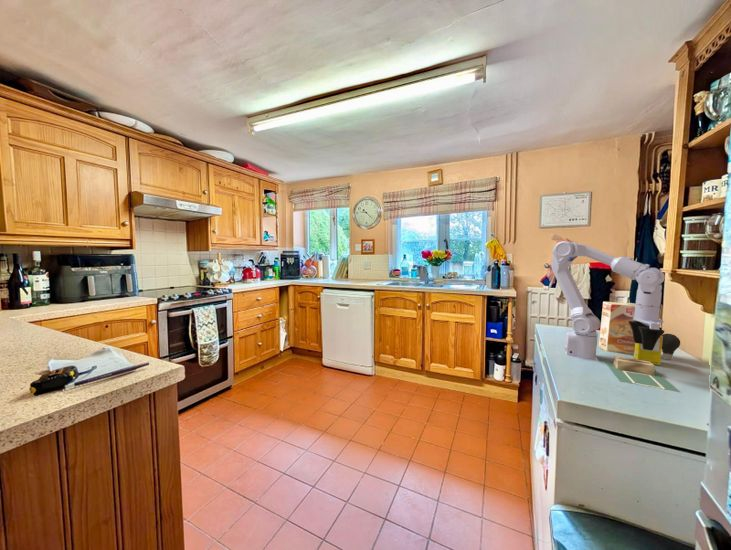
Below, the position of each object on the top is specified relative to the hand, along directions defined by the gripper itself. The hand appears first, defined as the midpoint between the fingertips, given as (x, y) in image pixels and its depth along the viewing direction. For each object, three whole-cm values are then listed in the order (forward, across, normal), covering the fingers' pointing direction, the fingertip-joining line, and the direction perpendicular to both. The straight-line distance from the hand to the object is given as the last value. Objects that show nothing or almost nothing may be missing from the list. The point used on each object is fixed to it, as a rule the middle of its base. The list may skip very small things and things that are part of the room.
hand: (643, 346), depth 95 cm
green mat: (+8, -6, +2) cm, 11 cm away
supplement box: (+9, +12, -5) cm, 15 cm away
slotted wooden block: (+8, -1, +2) cm, 8 cm away
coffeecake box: (+9, +23, -2) cm, 25 cm away
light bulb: (+9, +20, -13) cm, 25 cm away
